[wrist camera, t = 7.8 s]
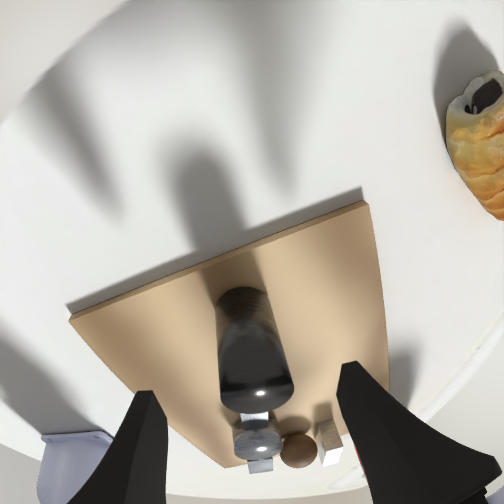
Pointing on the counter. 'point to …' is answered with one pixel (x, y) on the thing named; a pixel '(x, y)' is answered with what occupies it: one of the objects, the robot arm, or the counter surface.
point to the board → (286, 316)
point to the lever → (252, 373)
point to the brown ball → (298, 450)
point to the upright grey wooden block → (328, 442)
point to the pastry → (480, 139)
